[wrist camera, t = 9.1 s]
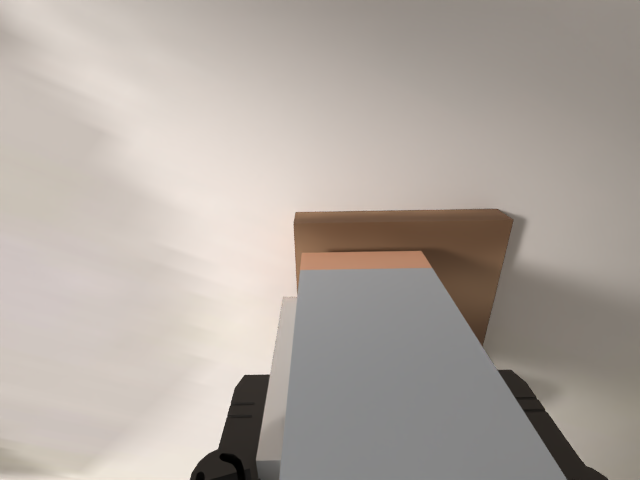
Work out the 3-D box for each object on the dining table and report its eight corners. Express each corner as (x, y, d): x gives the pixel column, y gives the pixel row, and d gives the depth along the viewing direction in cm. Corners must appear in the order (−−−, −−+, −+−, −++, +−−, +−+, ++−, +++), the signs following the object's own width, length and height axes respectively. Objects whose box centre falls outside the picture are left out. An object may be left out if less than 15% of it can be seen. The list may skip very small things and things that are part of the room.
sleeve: (301, 252, 14) (272, 537, 5) (421, 250, 14) (600, 532, 5) (305, 345, 17) (290, 660, 7) (409, 343, 16) (522, 656, 7)
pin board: (295, 212, 16) (282, 282, 10) (497, 208, 16) (598, 276, 10) (304, 387, 21) (299, 500, 15) (458, 384, 21) (512, 497, 15)
